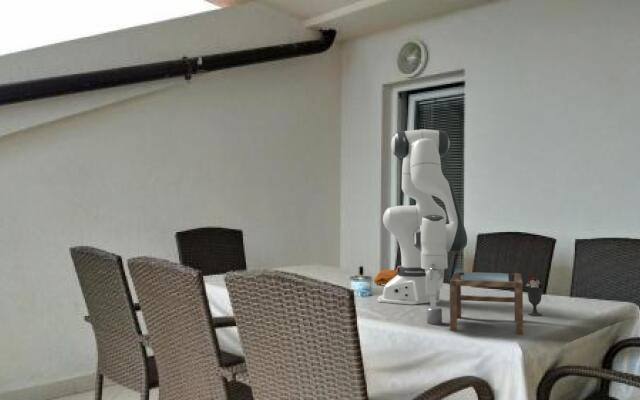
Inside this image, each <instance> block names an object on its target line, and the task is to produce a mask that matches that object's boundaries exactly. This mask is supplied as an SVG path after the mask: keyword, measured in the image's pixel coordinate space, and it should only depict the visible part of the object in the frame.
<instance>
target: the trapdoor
mask: <svg viewBox="0 0 640 400" xmlns="http://www.w3.org/2000/svg"><path fill="white" fill-rule="evenodd" d="M509 277H510V276H509V273H504V272H478V271H477V272H476V271H473V272H467V271H466V272H464V275H463V279H462V280H478V281H510V279H509Z"/></svg>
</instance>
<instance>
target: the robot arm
mask: <svg viewBox="0 0 640 400" xmlns="http://www.w3.org/2000/svg"><path fill="white" fill-rule="evenodd" d="M390 147H391V151H392V153H393V155H394V156H395V157H396V158H400V159H402V165H401V191H402V192H403V194H405V196H406V197H408V198H411V199H413V200H415V203H416V204H415V205H395V206H391V207H390V206H389V207H387V208H386V210H385V211H384V212H383V213H384V214H383V215H382V216H383V217H382V223H383V226H384V228H385V229H386V230H387V231H388V232H390V233H391V234H392V235H393V236H394V237H395V238H396V240H397V243H398V245H399V249H400V257H401V258H400V260H401V265H398V266H397V267H396V271H397V274H398V275H397V276H395V277H394V278H393V279H391V280H390V281H389V282H388V283H387V284H386V285H385V286H384V285H383V286H384V287H383V291H382V295H379V296H378V297H377V302H378V303H389V304H397V305H398V304H400V305H402V304H403V305H419V304H428V303H429V304H430V306H429V307H437V303H439V302H440V293H441V289H442V287H443V285H444V279H445V277H444V276H445V270H446V269H448V268H449V265H448V253H455V254H457V253H460V252H461V251H463V250H464V249H465V248H466V247H467V246H468V234H467V231H466V227H465V226H464V222H463V219H462V216H461V215H462V214H461V211H460V207H459V203H458V200H457V196H456V192H455V189H454V186H453V184H452V181H450V180H449V179H446V177H445V176H444V174H443V171H442V164H441V163H442V162H441V158H442V157H444V156H446V154H448V151H449V148H450V138H449V135H448V133H447V132H446V131H445V130H442V129H441V130H440V129H424V128H423V129H413V130H400V131H396V132H395V133H394V134H393V136H392V139H391V143H390ZM433 196H434V197H436V198H437V199H439V200H441V201H442V202H443V204H444V206H445V210H446V211H445V210H444V208H443V207H441V206H440V205H439V204H438V203H437V202H436V201H435V200H434V198H433ZM447 219H448V223H447ZM446 223H447V224H446Z"/></svg>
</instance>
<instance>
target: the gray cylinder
mask: <svg viewBox="0 0 640 400" xmlns="http://www.w3.org/2000/svg"><path fill="white" fill-rule="evenodd" d="M426 324H428V325H432V326H433V325H434V326H435V325H436V326H438V325H439V326H440V325H443V308H442V307H438V306H435V307H431V306H428V307H427V308H426Z"/></svg>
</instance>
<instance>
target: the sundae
mask: <svg viewBox="0 0 640 400" xmlns="http://www.w3.org/2000/svg"><path fill="white" fill-rule="evenodd" d="M527 275H528V276H529V278H528V282H527V283H526V285H525V286H524V287H525V289H526V291H527V298H528V302H529V303H530V304H531V305H532V310H531V312H528V313H527V315H528V316H531V317H542V316H543V313H539V312H538V308H537V306H538V305H539V304H540V303H541V301H542V293H543V290H544V289H545V286H544V285H543V284H544V281H542V282H540V280H538V279H537V278H535V277H533V275H532V274H531V273H530V272H527Z"/></svg>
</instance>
